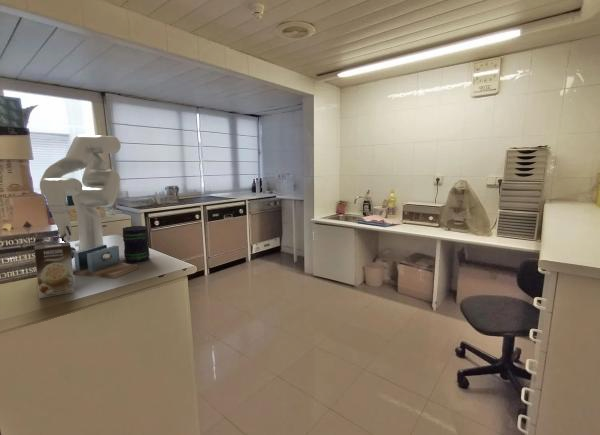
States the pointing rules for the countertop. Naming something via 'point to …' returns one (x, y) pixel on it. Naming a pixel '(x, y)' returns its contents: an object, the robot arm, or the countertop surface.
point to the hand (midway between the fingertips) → (60, 253)
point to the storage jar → (135, 244)
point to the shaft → (105, 256)
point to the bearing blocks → (96, 258)
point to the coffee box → (54, 269)
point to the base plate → (109, 270)
